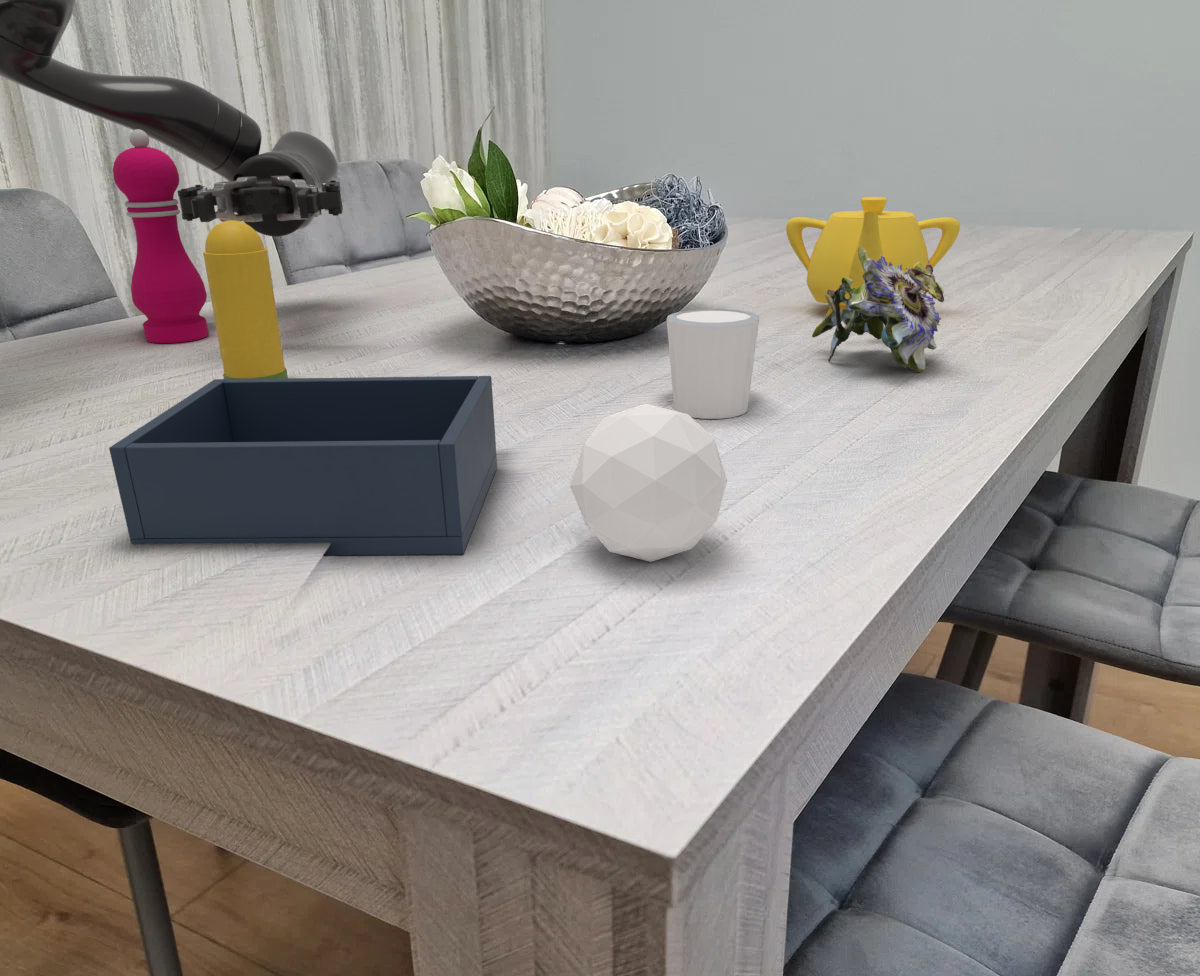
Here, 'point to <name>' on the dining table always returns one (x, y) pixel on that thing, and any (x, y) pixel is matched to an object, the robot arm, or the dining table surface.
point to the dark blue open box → (314, 464)
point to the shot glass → (712, 361)
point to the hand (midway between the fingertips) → (252, 207)
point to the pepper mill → (159, 246)
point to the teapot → (865, 244)
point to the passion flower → (888, 309)
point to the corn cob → (243, 302)
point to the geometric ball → (649, 482)
